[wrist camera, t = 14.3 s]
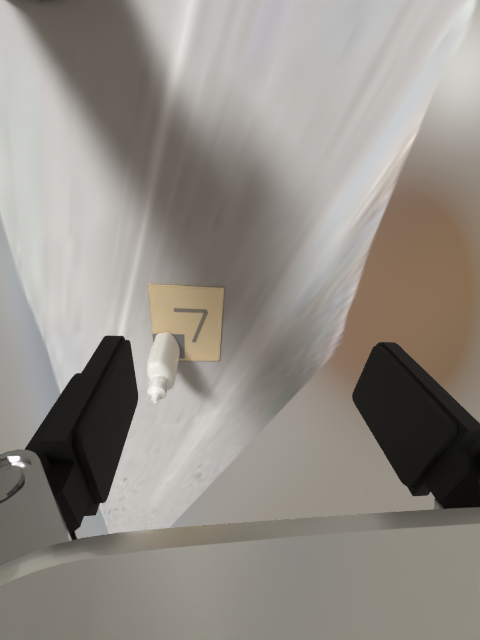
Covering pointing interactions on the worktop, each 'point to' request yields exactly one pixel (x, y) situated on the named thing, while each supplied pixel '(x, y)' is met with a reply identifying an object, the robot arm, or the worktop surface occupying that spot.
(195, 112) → the worktop surface
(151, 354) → the eye dropper bottle
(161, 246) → the worktop surface
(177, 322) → the card
